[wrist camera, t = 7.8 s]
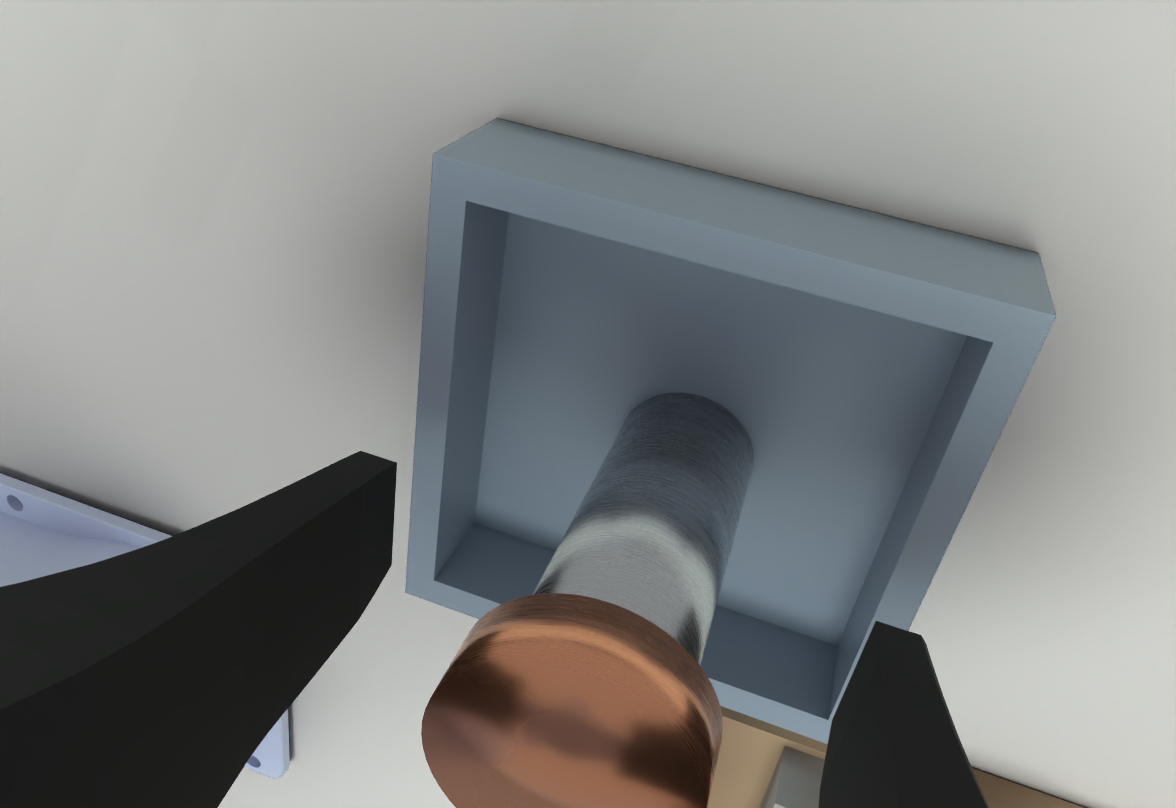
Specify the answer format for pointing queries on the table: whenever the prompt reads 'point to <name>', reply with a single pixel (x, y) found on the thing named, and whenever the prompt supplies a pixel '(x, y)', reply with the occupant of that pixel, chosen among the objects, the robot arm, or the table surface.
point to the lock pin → (607, 636)
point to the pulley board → (810, 771)
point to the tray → (709, 388)
